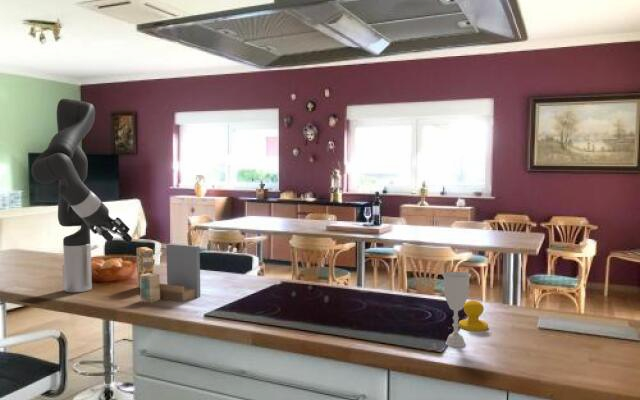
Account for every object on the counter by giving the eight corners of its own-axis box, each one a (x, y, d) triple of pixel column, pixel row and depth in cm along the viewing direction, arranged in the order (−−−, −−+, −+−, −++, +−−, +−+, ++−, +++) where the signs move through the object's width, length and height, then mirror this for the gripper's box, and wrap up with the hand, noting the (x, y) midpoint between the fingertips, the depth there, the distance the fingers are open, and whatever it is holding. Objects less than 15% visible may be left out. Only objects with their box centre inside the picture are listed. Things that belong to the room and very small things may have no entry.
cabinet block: (140, 301, 181) (139, 275, 180) (149, 298, 185) (148, 273, 184) (150, 302, 178) (150, 276, 178) (159, 300, 182) (159, 274, 182)
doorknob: (454, 328, 149) (463, 321, 156) (483, 332, 145) (491, 325, 151) (455, 302, 149) (464, 296, 155) (483, 306, 144) (491, 299, 151)
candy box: (154, 290, 197) (153, 249, 196) (143, 291, 195) (142, 250, 194) (148, 285, 204) (147, 246, 204) (136, 287, 202) (135, 247, 201)
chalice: (465, 339, 139) (466, 271, 138) (474, 348, 132) (474, 277, 131) (438, 339, 139) (438, 272, 138) (445, 348, 132) (445, 277, 131)
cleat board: (154, 297, 186) (153, 246, 185) (170, 292, 193) (169, 243, 192) (185, 301, 180) (184, 249, 178) (200, 296, 187) (199, 246, 185)
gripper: (112, 198, 158) (142, 232, 168) (80, 197, 164) (111, 230, 175) (98, 217, 153) (130, 251, 164) (65, 216, 160) (98, 248, 171)
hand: (120, 240), depth 170 cm, fingers open, 8 cm apart
